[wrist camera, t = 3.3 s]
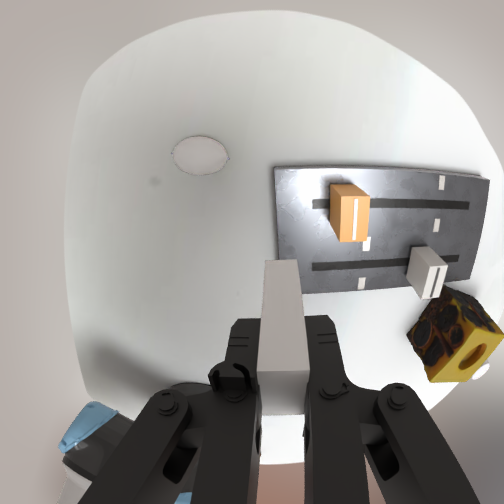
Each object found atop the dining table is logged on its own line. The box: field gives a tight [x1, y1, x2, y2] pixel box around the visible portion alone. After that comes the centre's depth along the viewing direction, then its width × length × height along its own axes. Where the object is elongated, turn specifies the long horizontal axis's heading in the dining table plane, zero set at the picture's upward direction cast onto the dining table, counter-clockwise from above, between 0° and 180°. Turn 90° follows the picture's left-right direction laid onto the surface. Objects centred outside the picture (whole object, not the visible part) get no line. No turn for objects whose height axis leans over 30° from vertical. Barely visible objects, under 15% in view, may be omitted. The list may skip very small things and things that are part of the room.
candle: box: [407, 285, 504, 383], centre depth 29 cm, size 10×10×10 cm
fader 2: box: [406, 246, 448, 300], centre depth 25 cm, size 2×4×5 cm, turn 5°
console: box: [274, 166, 490, 294], centre depth 27 cm, size 27×14×2 cm, turn 95°
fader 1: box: [330, 184, 370, 242], centre depth 23 cm, size 2×4×5 cm, turn 5°
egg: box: [171, 136, 230, 175], centre depth 25 cm, size 4×6×4 cm, turn 82°
